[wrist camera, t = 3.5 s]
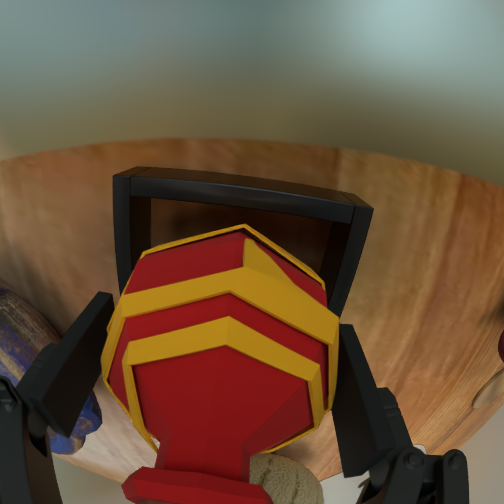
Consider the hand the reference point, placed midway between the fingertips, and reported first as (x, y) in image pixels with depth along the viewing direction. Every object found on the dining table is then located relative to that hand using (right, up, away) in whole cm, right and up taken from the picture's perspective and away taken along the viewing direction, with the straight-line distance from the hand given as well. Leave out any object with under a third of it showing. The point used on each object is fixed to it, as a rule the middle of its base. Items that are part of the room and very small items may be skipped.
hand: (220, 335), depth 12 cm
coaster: (+38, -17, +13) cm, 43 cm away
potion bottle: (0, +2, +5) cm, 6 cm away
